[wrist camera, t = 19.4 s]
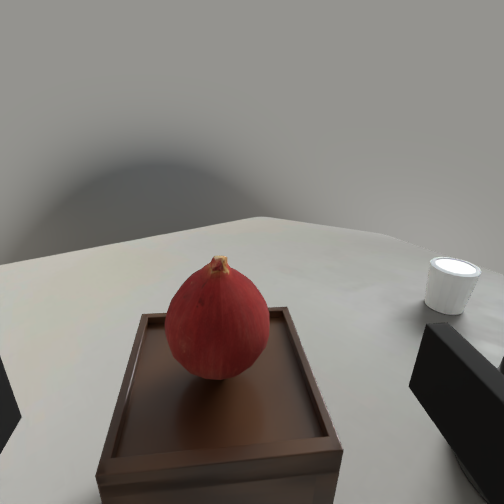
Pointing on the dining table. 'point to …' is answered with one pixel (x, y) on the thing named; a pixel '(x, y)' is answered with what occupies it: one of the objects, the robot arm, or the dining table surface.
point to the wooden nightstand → (220, 428)
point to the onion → (217, 322)
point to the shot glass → (450, 284)
